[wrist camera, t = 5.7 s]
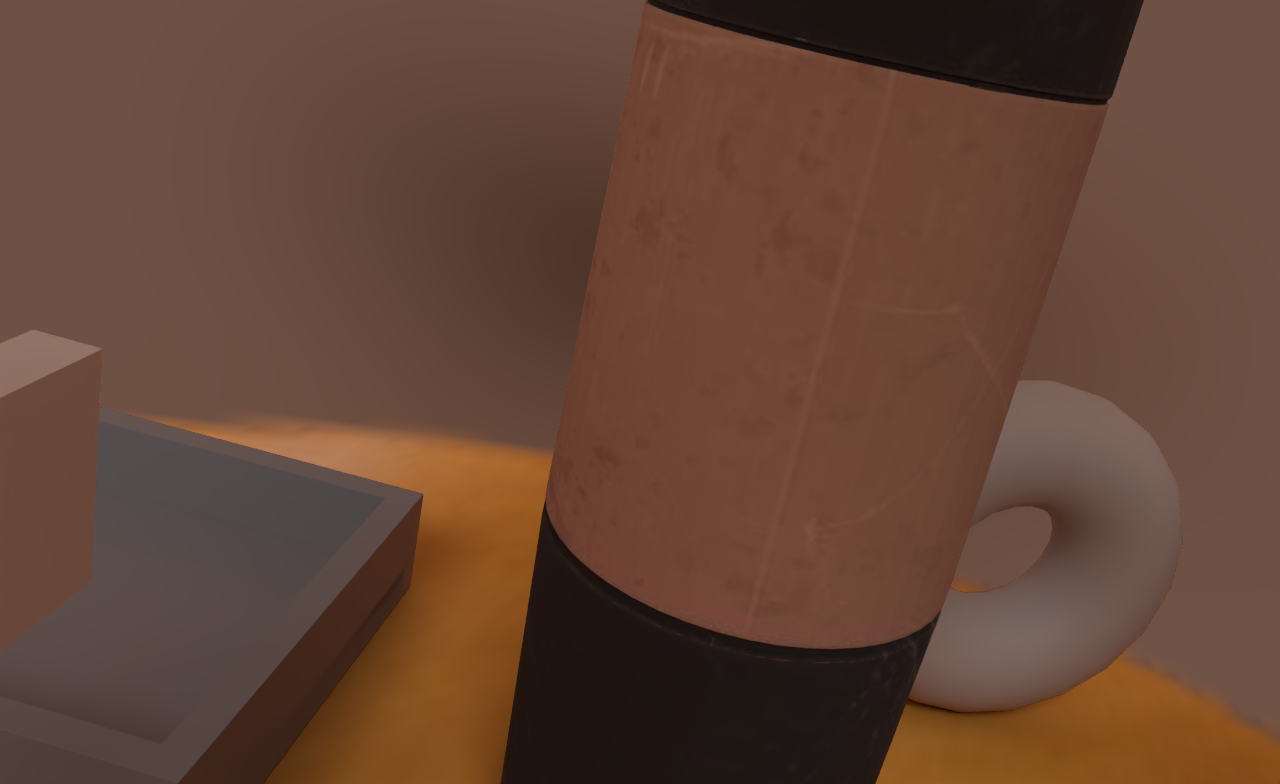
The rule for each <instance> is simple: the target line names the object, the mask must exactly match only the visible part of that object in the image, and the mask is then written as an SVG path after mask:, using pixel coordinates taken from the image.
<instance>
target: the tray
mask: <svg viewBox="0 0 1280 784" xmlns="http://www.w3.org/2000/svg"><path fill="white" fill-rule="evenodd" d="M422 501H423V494H422V493H418V492H414V491H410V490H407V489H403V488H399V487H396V486H392V485H388V484H384V483H381V482H377V481H373V480H370V479H366V478H362V477H358V476H355V475H351V474H347V473H344V472H340V471H336V470H332V469H329V468H325V467H321V466H317V465H314V464H310V463H306V462H303V461H299V460H295V459H291V458H288V457H284V456H280V455H277V454H273V453H269V452H265V451H262V450H258V449H254V448H251V447H247V446H243V445H239V444H236V443H232V442H228V441H225V440H221V439H217V438H213V437H210V436H206V435H202V434H199V433H195V432H191V431H187V430H184V429H180V428H176V427H173V426H169V425H165V424H161V423H158V422H154V421H150V420H146V419H143V418H139V417H135V416H132V415H128V414H124V413H120V412H117V411H113V410H109V409H106V408H102V407H100V412H99V431H98V451H97V471H96V491H95V511H94V531H93V551H92V571H91V582H90V583H89V584H88V585H86V586H85V587H84V588H83V589H81V590H80V591H79V592H77V593H76V594H75V595H74V596H72V597H71V598H70V599H68V600H67V601H66V602H64V603H63V604H62V605H61V606H59V607H58V608H57V609H55V610H54V611H53V612H52V613H50V614H49V615H48V616H46V617H45V618H44V619H43V620H41V621H40V622H39V623H37V624H36V625H35V626H33V627H32V628H31V629H30V630H28V631H27V632H26V633H24V634H23V635H22V636H21V637H19V638H18V639H17V640H15V641H14V642H13V643H11V644H10V645H9V646H8V647H6V648H5V649H4V650H2V651H1V652H0V784H263V783H264V782H265V780H266V779H267V778H268V776H269V775H270V773H271V772H272V771H273V769H274V768H275V767H276V765H277V764H278V763H279V761H280V760H281V759H282V757H283V756H284V755H285V753H286V752H287V751H288V749H289V748H290V747H291V745H292V744H293V743H294V741H295V740H296V739H297V737H298V736H299V734H300V733H301V732H302V730H303V729H304V728H305V726H306V725H307V724H308V722H309V721H310V720H311V718H312V717H313V716H314V714H315V713H316V712H317V710H318V709H319V708H320V706H321V705H322V704H323V702H324V701H325V699H326V698H327V697H328V695H329V694H330V693H331V691H332V690H333V689H334V687H335V686H336V685H337V683H338V682H339V681H340V679H341V678H342V677H343V675H344V674H345V673H346V671H347V670H348V669H349V667H350V666H351V665H352V663H353V662H354V660H355V659H356V658H357V656H358V655H359V654H360V652H361V651H362V650H363V648H364V647H365V646H366V644H367V643H368V642H369V640H370V639H371V638H372V636H373V635H374V634H375V632H376V631H377V630H378V628H379V627H380V625H381V624H382V623H383V621H384V620H385V619H386V617H387V616H388V615H389V613H390V612H391V611H392V609H393V608H394V607H395V605H396V604H397V603H398V601H399V600H400V599H401V597H402V596H403V595H404V593H405V592H406V591H407V589H408V588H409V586H410V582H411V576H412V569H413V562H414V555H415V548H416V542H417V535H418V528H419V521H420V514H421V508H422Z"/></svg>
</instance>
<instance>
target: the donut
mask: <svg viewBox="0 0 1280 784" xmlns="http://www.w3.org/2000/svg"><path fill="white" fill-rule="evenodd" d="M1022 506H1033V507H1036V508H1040V509H1043V510H1045V511H1047V512H1048V513H1049V515H1050V517H1051V521H1052V532H1051V537H1050V541H1049V543H1048V545H1047V546H1046V548H1045V550H1044V552H1043V553H1042V555H1041V557H1040V559H1039V560H1038V561H1037V562H1036V563H1035V564H1034V565H1033V566H1032V567H1031V568H1030V569H1029V570H1028V571H1027V572H1026V573H1025V574H1024V575H1022V576H1020V577H1019V578H1017V579H1015V580H1014V581H1012V582H1010V583H1009V584H1007V585H1005V586H1002V587H999V588H995V589H992V590H989V591H986V592H961V591H957V590H955V589H954V588H952V587H951V586H950V589H949V592H948V595H947V597H946V600H945V602H944V605H943V607H942V610H941V614H940V616H939V619H938V622H937V624H936V627H935V629H934V632H933V635H932V637H931V640H930V642H929V645H928V648H927V650H926V653H925V655H924V658H923V661H922V663H921V666H920V669H919V671H918V674H917V676H916V679H915V682H914V684H913V687H912V689H911V692H910V695H909V697H908V699H911V700H913V701H915V702H919V703H924V704H928V705H932V706H936V707H940V708H945V709H949V710H953V711H957V712H980V711H1001V710H1012V709H1016V708H1019V707H1022V706H1026V705H1029V704H1032V703H1036V702H1039V701H1042V700H1045V699H1049V698H1052V697H1055V696H1059V695H1062V694H1064V693H1066V692H1067V691H1069V690H1071V689H1072V688H1074V687H1076V686H1078V685H1079V684H1081V683H1083V682H1084V681H1086V680H1088V679H1090V678H1091V677H1093V676H1095V675H1096V674H1098V673H1100V672H1102V671H1103V670H1105V669H1106V668H1107V667H1108V666H1109V665H1111V664H1112V663H1113V662H1114V661H1115V660H1116V659H1117V658H1118V657H1119V656H1120V655H1121V654H1122V653H1123V652H1124V651H1125V650H1126V649H1127V648H1128V647H1129V646H1130V645H1131V644H1132V643H1134V642H1135V641H1136V640H1137V639H1138V638H1139V637H1140V636H1141V635H1142V634H1143V633H1144V631H1145V630H1146V628H1147V627H1148V625H1149V623H1150V622H1151V620H1152V618H1153V617H1154V615H1155V614H1156V612H1157V610H1158V609H1159V607H1160V605H1161V604H1162V602H1163V601H1164V599H1165V597H1166V596H1167V594H1168V593H1169V591H1170V589H1171V586H1172V582H1173V578H1174V575H1175V571H1176V567H1177V563H1178V559H1179V556H1180V552H1181V548H1182V545H1183V536H1182V526H1181V525H1182V524H1181V513H1180V501H1179V490H1178V484H1177V482H1176V480H1175V478H1174V476H1173V474H1172V472H1171V470H1170V468H1169V466H1168V465H1167V463H1166V461H1165V459H1164V457H1163V455H1162V453H1161V451H1160V450H1159V447H1158V445H1157V443H1156V442H1155V441H1154V439H1153V438H1152V436H1151V435H1150V434H1149V433H1148V432H1147V431H1146V430H1145V429H1144V428H1142V427H1141V426H1140V425H1139V424H1138V423H1136V422H1135V421H1134V420H1133V419H1131V418H1130V417H1129V416H1128V415H1126V414H1125V413H1124V412H1123V411H1121V410H1120V409H1119V408H1118V407H1117V406H1116V405H1114V404H1113V403H1112V402H1110V401H1108V400H1106V399H1104V398H1102V397H1100V396H1097V395H1094V394H1091V393H1088V392H1085V391H1082V390H1079V389H1075V388H1073V387H1070V386H1067V385H1063V384H1060V383H1058V382H1054V381H1052V380H1023V381H1018V383H1017V386H1016V389H1015V392H1014V395H1013V398H1012V401H1011V404H1010V407H1009V410H1008V413H1007V416H1006V419H1005V422H1004V425H1003V428H1002V431H1001V434H1000V437H999V440H998V443H997V446H996V449H995V453H994V456H993V459H992V462H991V465H990V468H989V471H988V474H987V477H986V480H985V483H984V486H983V489H982V492H981V495H980V498H979V501H978V504H977V507H976V510H975V513H974V516H973V519H972V522H971V525H970V528H971V527H972V526H973V525H975V524H976V523H978V522H980V521H981V520H983V519H985V518H986V517H988V516H990V515H991V514H993V513H996V512H1000V511H1003V510H1006V509H1010V508H1013V507H1022ZM970 528H969V529H970Z"/></svg>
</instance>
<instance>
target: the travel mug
mask: <svg viewBox="0 0 1280 784" xmlns="http://www.w3.org/2000/svg"><path fill="white" fill-rule="evenodd" d="M1143 1H1144V0H647V1H645V4H644V8H643V13H642V18H641V23H640V28H639V33H638V38H637V43H636V47H635V53H634V57H633V62H632V67H631V73H630V77H629V82H628V87H627V92H626V97H625V102H624V108H623V112H622V117H621V122H620V127H619V132H618V137H617V142H616V147H615V152H614V157H613V162H612V167H611V172H610V177H609V182H608V187H607V192H606V197H605V202H604V207H603V211H602V216H601V221H600V226H599V231H598V236H597V242H596V246H595V251H594V256H593V262H592V266H591V271H590V276H589V281H588V286H587V291H586V296H585V301H584V306H583V311H582V316H581V321H580V326H579V331H578V336H577V341H576V346H575V351H574V356H573V361H572V366H571V371H570V376H569V380H568V385H567V390H566V395H565V400H564V406H563V410H562V416H561V420H560V425H559V430H558V435H557V440H556V445H555V450H554V455H553V460H552V465H551V470H550V475H549V480H548V485H547V490H546V499H545V504H544V508H543V513H542V520H541V526H540V533H539V539H538V546H537V552H536V559H535V565H534V572H533V578H532V584H531V591H530V597H529V604H528V610H527V617H526V623H525V630H524V636H523V643H522V649H521V656H520V662H519V669H518V675H517V682H516V688H515V695H514V701H513V708H512V714H511V721H510V727H509V733H508V740H507V746H506V753H505V759H504V766H503V772H502V779H501V784H875V783H876V781H877V778H878V775H879V773H880V770H881V768H882V765H883V762H884V760H885V757H886V755H887V752H888V749H889V747H890V744H891V742H892V739H893V736H894V734H895V731H896V729H897V726H898V723H899V721H900V718H901V715H902V713H903V710H904V708H905V705H906V702H907V700H908V697H909V695H910V692H911V689H912V687H913V684H914V682H915V679H916V676H917V674H918V671H919V669H920V666H921V663H922V661H923V658H924V655H925V653H926V650H927V648H928V645H929V642H930V640H931V637H932V635H933V632H934V629H935V627H936V624H937V622H938V619H939V616H940V614H941V610H942V607H943V605H944V602H945V600H946V597H947V595H948V592H949V589H950V586H951V583H952V580H953V577H954V574H955V571H956V568H957V565H958V562H959V559H960V556H961V552H962V549H963V546H964V543H965V540H966V537H967V534H968V531H969V528H970V525H971V522H972V519H973V516H974V513H975V510H976V507H977V504H978V501H979V498H980V495H981V492H982V489H983V486H984V483H985V480H986V477H987V474H988V471H989V468H990V465H991V462H992V459H993V456H994V453H995V449H996V446H997V443H998V440H999V437H1000V434H1001V431H1002V428H1003V425H1004V422H1005V419H1006V416H1007V413H1008V410H1009V407H1010V404H1011V401H1012V398H1013V395H1014V392H1015V389H1016V386H1017V383H1018V379H1019V377H1020V373H1021V370H1022V368H1023V365H1024V361H1025V359H1026V356H1027V353H1028V349H1029V346H1030V343H1031V340H1032V337H1033V334H1034V331H1035V328H1036V325H1037V322H1038V319H1039V316H1040V313H1041V310H1042V307H1043V304H1044V301H1045V298H1046V295H1047V292H1048V289H1049V286H1050V283H1051V280H1052V277H1053V274H1054V271H1055V268H1056V265H1057V262H1058V259H1059V256H1060V252H1061V250H1062V247H1063V243H1064V240H1065V237H1066V234H1067V231H1068V228H1069V225H1070V222H1071V219H1072V216H1073V213H1074V210H1075V207H1076V204H1077V201H1078V198H1079V195H1080V192H1081V189H1082V186H1083V183H1084V180H1085V177H1086V174H1087V171H1088V167H1089V165H1090V162H1091V158H1092V156H1093V153H1094V149H1095V147H1096V143H1097V140H1098V137H1099V134H1100V131H1101V128H1102V125H1103V122H1104V119H1105V116H1106V113H1107V110H1108V106H1109V104H1108V103H1107V101H1108V99H1110V98H1111V97H1112V95H1113V92H1114V89H1115V86H1116V83H1117V80H1118V77H1119V74H1120V71H1121V68H1122V65H1123V62H1124V58H1125V56H1126V53H1127V50H1128V47H1129V43H1130V41H1131V38H1132V35H1133V32H1134V29H1135V26H1136V23H1137V19H1138V17H1139V13H1140V10H1141V7H1142V4H1143Z"/></svg>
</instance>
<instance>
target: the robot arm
mask: <svg viewBox="0 0 1280 784" xmlns="http://www.w3.org/2000/svg"><path fill="white" fill-rule="evenodd" d="M102 351H103V350H102V348H98V347H94V346H91V345H87V344H83V343H80V342H76V341H72V340H69V339H65V338H61V337H58V336H54V335H51V334H47V333H43V332H39V331H36V330H32V331H29V332H27V333H24V334H22V335H20V336H17V337H15V338H12V339H10V340H7V341H5V342H3V343H0V652H1V651H2V650H4V649H5V648H6V647H8V646H9V645H10V644H11V643H13V642H14V641H15V640H17V639H18V638H19V637H21V636H22V635H23V634H24V633H26V632H27V631H28V630H30V629H31V628H32V627H33V626H35V625H36V624H37V623H39V622H40V621H41V620H43V619H44V618H45V617H46V616H48V615H49V614H50V613H52V612H53V611H54V610H55V609H57V608H58V607H59V606H61V605H62V604H63V603H64V602H66V601H67V600H68V599H70V598H71V597H72V596H74V595H75V594H76V593H77V592H79V591H80V590H81V589H83V588H84V587H85V586H86V585H88V584H89V583H90V582H91V571H92V551H93V531H94V511H95V491H96V471H97V451H98V431H99V412H100V392H101V391H100V390H101V369H102Z"/></svg>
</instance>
